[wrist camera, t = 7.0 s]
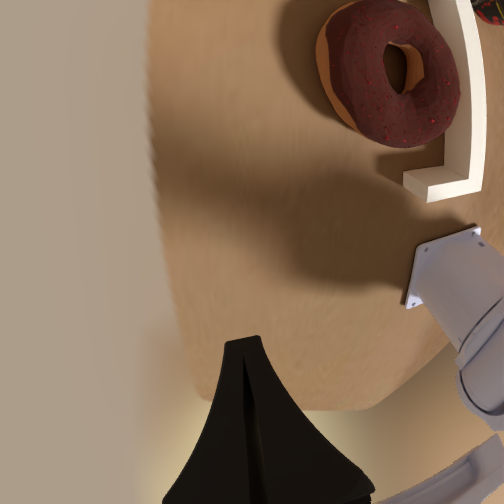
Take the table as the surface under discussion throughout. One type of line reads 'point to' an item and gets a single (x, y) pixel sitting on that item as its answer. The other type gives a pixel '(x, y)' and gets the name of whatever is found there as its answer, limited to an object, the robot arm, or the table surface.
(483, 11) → the deodorant
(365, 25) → the donut
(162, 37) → the table surface
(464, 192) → the stop
